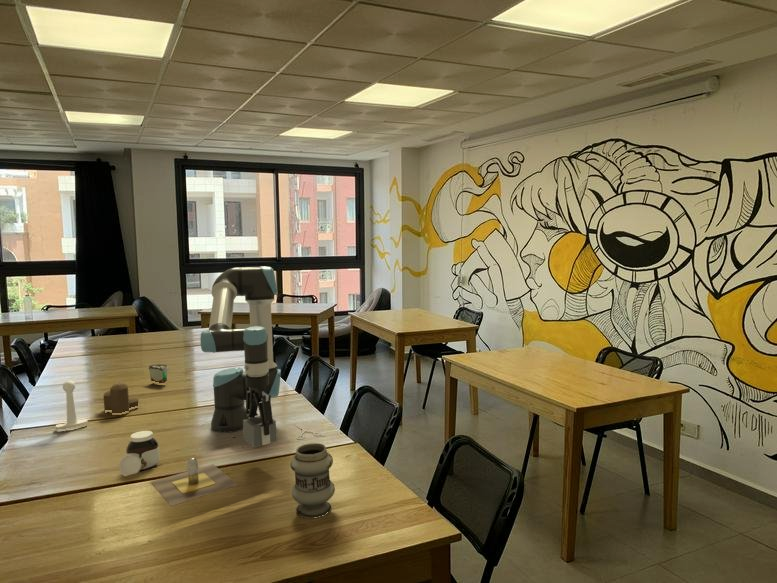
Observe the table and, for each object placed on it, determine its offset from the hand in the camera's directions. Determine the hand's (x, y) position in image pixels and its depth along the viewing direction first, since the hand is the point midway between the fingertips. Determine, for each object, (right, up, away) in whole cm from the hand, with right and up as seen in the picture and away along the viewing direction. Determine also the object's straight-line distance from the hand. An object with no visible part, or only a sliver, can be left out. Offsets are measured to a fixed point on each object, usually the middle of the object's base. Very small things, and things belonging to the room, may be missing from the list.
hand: (260, 439), depth 182 cm
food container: (-77, +1, +106) cm, 131 cm away
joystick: (-87, -6, +41) cm, 97 cm away
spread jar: (-40, -10, -1) cm, 41 cm away
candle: (-77, -4, +61) cm, 98 cm away
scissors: (+10, -6, +33) cm, 35 cm away
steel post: (-17, -9, -15) cm, 24 cm away
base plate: (-17, -11, -15) cm, 25 cm away
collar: (0, 0, 0) cm, 0 cm away
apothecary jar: (+22, -12, -29) cm, 39 cm away
